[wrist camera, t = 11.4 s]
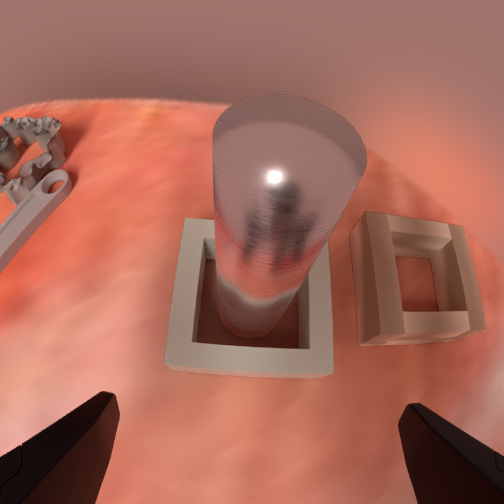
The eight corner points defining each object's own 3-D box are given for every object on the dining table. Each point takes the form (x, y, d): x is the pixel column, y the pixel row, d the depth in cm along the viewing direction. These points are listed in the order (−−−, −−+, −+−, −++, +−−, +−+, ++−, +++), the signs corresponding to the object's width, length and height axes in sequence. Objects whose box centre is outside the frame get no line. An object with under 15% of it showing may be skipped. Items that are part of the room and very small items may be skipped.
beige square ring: (441, 246, 21) (462, 226, 18) (457, 340, 18) (485, 328, 15) (349, 236, 21) (365, 211, 18) (358, 346, 17) (380, 334, 15)
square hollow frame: (315, 250, 20) (326, 229, 18) (319, 378, 16) (333, 373, 14) (188, 240, 20) (185, 217, 17) (172, 369, 16) (163, 364, 14)
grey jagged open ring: (80, 154, 23) (65, 118, 19) (21, 220, 20) (-3, 189, 16) (21, 129, 24) (8, 100, 21) (-27, 181, 21) (-46, 154, 17)
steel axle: (293, 314, 18) (394, 160, 7) (243, 351, 17) (285, 230, 6) (255, 267, 19) (295, 82, 8) (205, 300, 18) (183, 122, 7)
